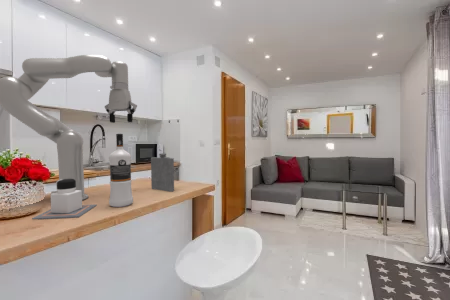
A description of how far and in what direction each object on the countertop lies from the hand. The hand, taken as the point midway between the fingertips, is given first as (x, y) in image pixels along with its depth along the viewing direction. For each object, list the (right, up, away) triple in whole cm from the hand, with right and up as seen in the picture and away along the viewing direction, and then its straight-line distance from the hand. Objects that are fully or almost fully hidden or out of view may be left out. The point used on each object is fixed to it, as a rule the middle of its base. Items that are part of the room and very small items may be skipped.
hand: (121, 122), depth 115 cm
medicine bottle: (-8, -37, -28) cm, 47 cm away
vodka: (+8, -37, -18) cm, 42 cm away
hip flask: (+18, -36, +11) cm, 42 cm away
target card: (-8, -38, -28) cm, 47 cm away
